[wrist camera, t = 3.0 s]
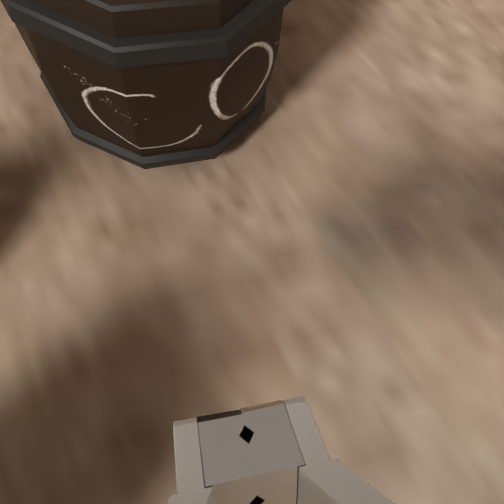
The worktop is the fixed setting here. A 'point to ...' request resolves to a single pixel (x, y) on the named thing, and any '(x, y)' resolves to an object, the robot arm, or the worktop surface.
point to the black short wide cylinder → (154, 71)
